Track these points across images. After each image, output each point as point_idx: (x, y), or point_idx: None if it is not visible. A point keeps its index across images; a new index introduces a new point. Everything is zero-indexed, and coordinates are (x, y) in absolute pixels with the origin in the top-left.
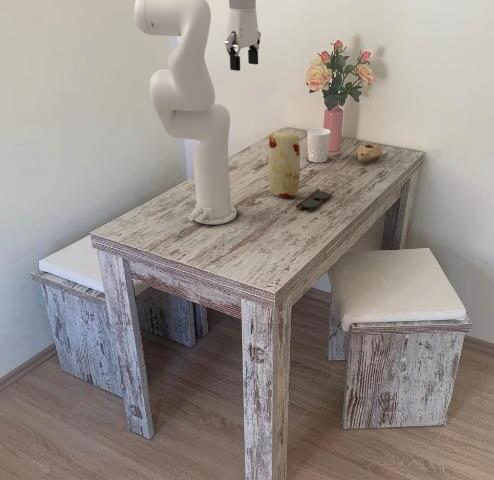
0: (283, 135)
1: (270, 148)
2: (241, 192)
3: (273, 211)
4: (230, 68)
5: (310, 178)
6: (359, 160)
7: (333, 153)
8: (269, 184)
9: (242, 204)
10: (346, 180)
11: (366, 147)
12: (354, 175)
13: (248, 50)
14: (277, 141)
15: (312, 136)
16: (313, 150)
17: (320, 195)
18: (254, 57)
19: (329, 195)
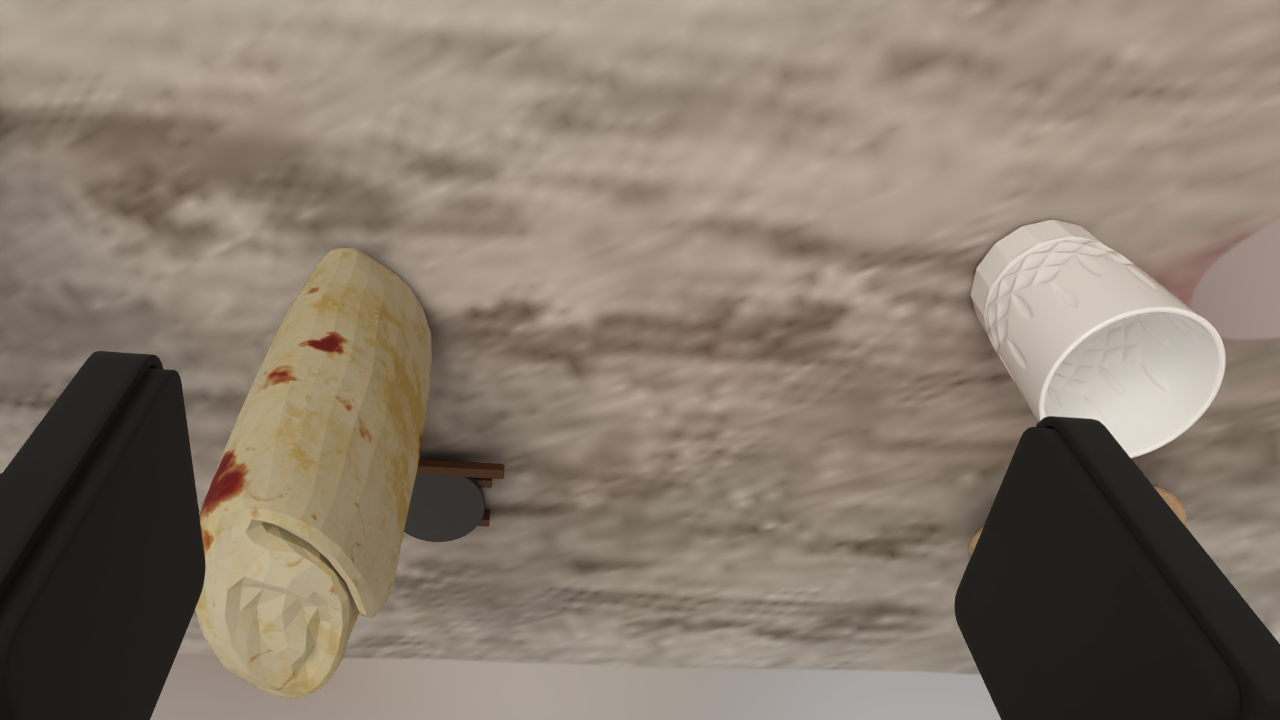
0: (207, 637)
1: (223, 454)
2: (261, 48)
3: (138, 351)
4: (94, 362)
5: (694, 351)
6: (979, 529)
7: None
8: (320, 272)
9: (96, 148)
10: (735, 514)
11: (1185, 517)
12: (820, 525)
13: (1237, 694)
14: None
15: (1042, 365)
16: (1002, 315)
17: (424, 507)
18: (1035, 692)
19: (449, 540)
